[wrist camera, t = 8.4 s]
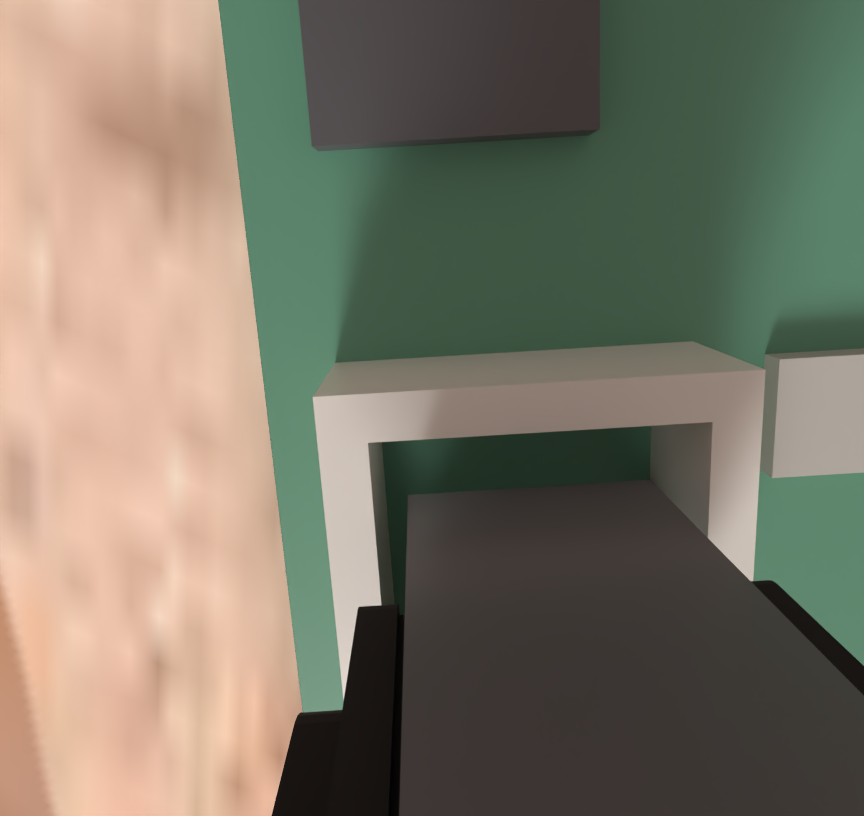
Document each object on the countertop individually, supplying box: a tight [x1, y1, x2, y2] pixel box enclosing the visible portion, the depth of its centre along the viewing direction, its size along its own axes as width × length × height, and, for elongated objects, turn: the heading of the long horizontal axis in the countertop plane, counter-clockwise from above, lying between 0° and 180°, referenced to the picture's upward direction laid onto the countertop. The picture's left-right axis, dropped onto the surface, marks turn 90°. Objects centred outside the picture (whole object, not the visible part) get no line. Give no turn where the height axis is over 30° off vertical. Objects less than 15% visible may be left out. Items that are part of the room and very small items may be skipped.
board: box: [218, 0, 864, 712], centre depth 14 cm, size 20×16×2 cm
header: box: [313, 341, 766, 700], centre depth 13 cm, size 7×7×4 cm
